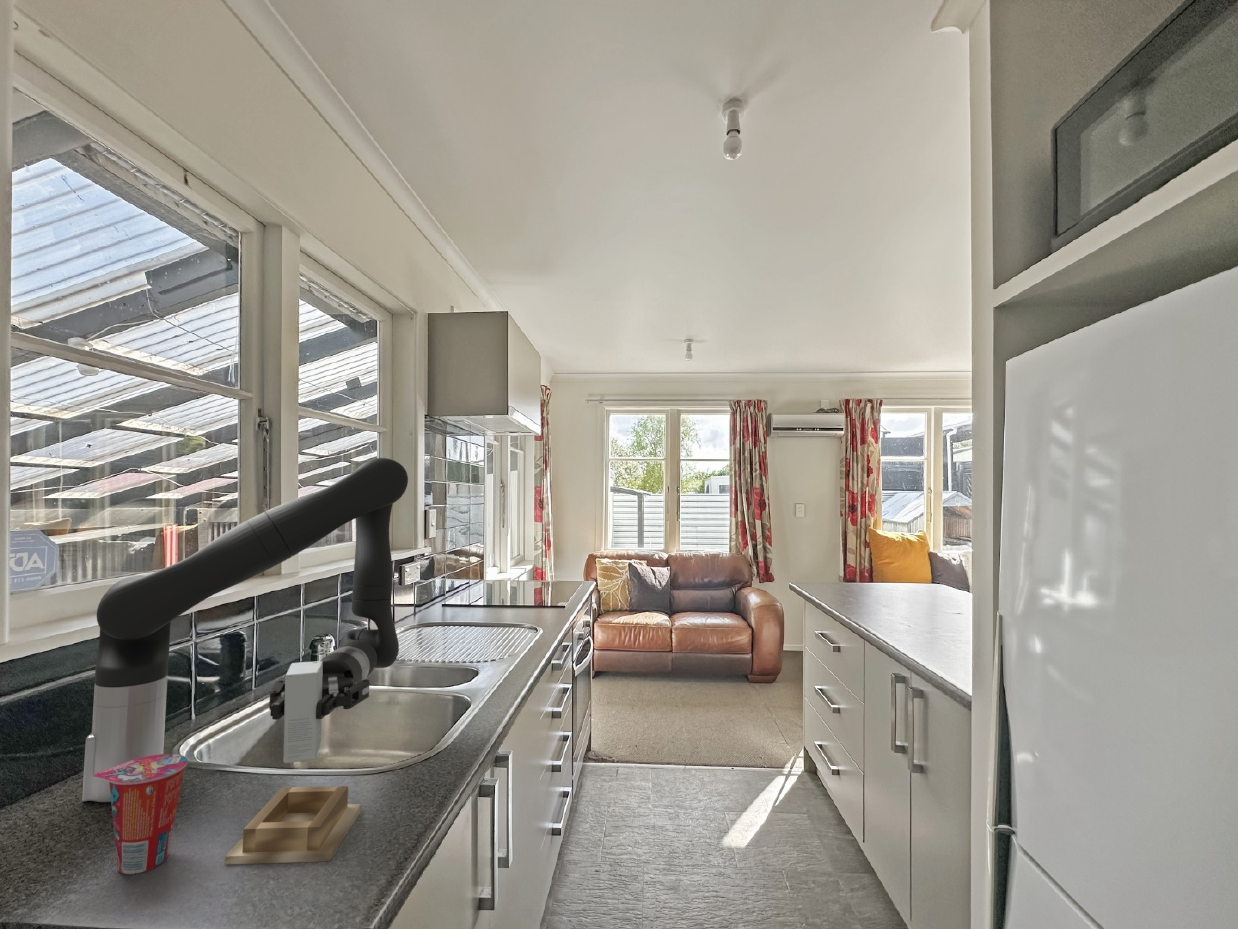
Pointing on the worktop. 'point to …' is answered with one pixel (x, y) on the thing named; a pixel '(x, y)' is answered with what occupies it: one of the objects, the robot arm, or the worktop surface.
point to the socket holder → (297, 827)
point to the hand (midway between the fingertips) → (297, 712)
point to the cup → (144, 808)
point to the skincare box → (302, 711)
